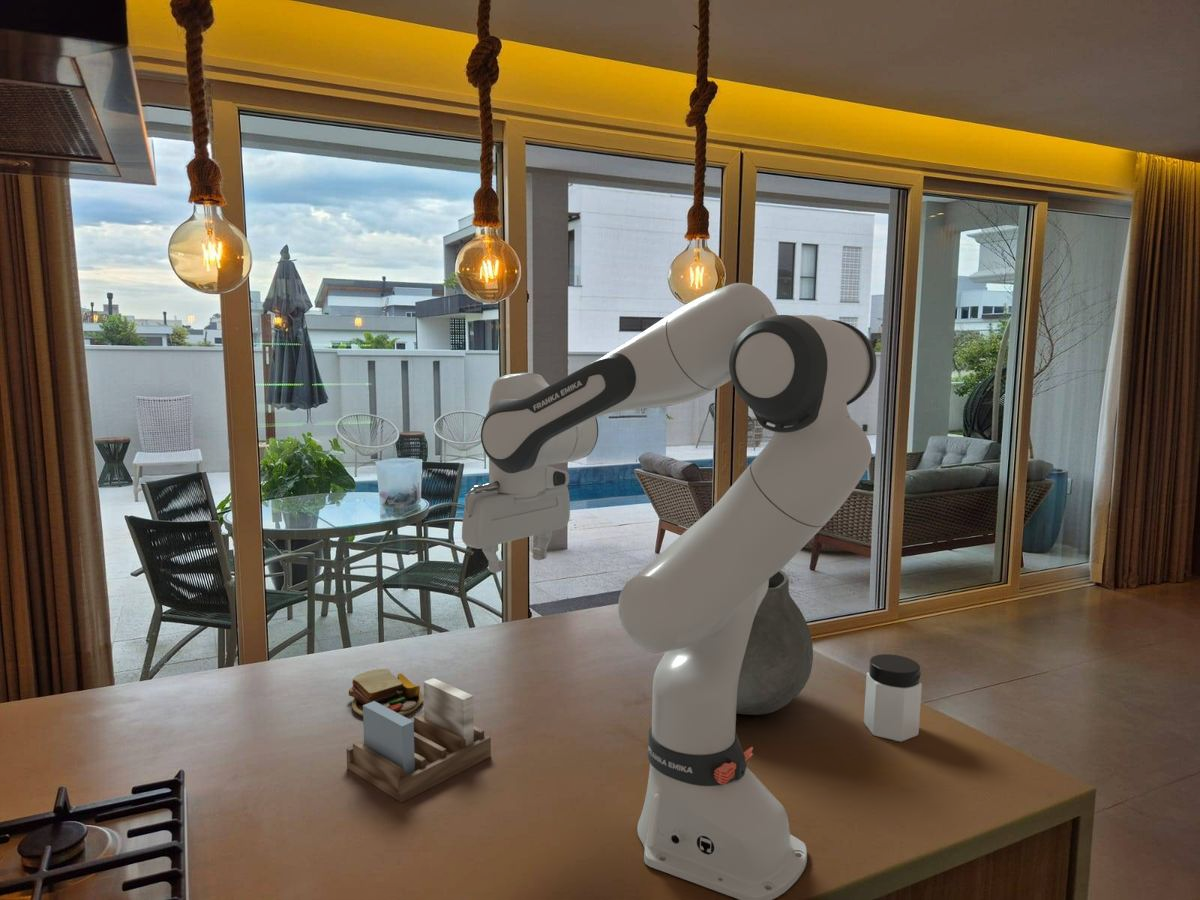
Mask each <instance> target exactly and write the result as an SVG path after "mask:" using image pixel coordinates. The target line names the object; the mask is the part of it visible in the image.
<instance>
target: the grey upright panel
mask: <svg viewBox="0 0 1200 900" xmlns="http://www.w3.org/2000/svg"><path fill="white" fill-rule="evenodd" d="M362 718H363V720H362V721H363V741H364V746H366V747H367V748H369V749H371V750H373V751H374V752H376V753H378V754H379V755H381V756H383V757H384V758H386V759H388V760H390V761H391V762H393V763H395V764H396V765H398V766H400V767H401V768H403V769H404V774H405V776H407V775H409V774H411V773H413V772H415V758H414V721H412V720H413V719H409V718H408V717H405V715H404V716H402V715H400V714H398V713H396V712H395V711H393V710H391V709H389V708H387V707H385V706H383V705H381V704H379V703H377V702H375V701H373V702H370V703H368V704H365V705H363V716H362Z"/></svg>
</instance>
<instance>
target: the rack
mask: <svg viewBox="0 0 1200 900" xmlns="http://www.w3.org/2000/svg"><path fill="white" fill-rule="evenodd" d="M474 717H475V716H474V695H473V694H470V693H468V692H466V691H464V690H461V689H459V688H457V687H455V686H453V685H450V684H448V683H445V682H443V681H441V680H439V679H437V678H435V677H432V678H429V679H426V680H424V681H423V715H421V716H420V715H416V716H414V717H413V719H411V720H412V721H414V758H415V772H413V773H411V774H409V775H407V776H405V774H404V769H403V768H401V767H400V766H398V765H396V764H395V763H393V762H391V761H390V760H388V759H386V758H384V757H383V756H381V755H379V754H378V753H376V752H374V751H373V750H371V749H369V748H367V747H366V746H364V740H363V741H361V742H359V741H356V742H353V743H352V746H350V747H346V766H347V767H346V769H348V770H349V771H351V772H353V773H355V775H357V776H359V777H360V778H362V779H364V780H365V781H367V783H370V784H372V786H375V787H376V788H377V789H379V790H381V791H382V792H384V793H386V794H387V795H388V796H391V797H392V798H393V799H395V800H396V801H398V802H400V803H405V802H406V801H408V800H410V799H412V798H414V797H415V796H417V795H419V794H422V793H424V792H425V791H427V790H429V789H431V788H433V787H434V786H437V785H439V784H440V783H443V782H444V781H446V780H448V779H450V778H452V777H454V776H457V775H458V774H460V773H461V772H464V771H465V770H467V769H469V768H471V767H473V766H475V765H477V764H479V763H481V762H482V761H485V760H486V759H488V758H490V757H492V742H491V741H492V737H491V736H489V735H485V730H484V729H482V728H479V727H478V726H475V725H474Z"/></svg>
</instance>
